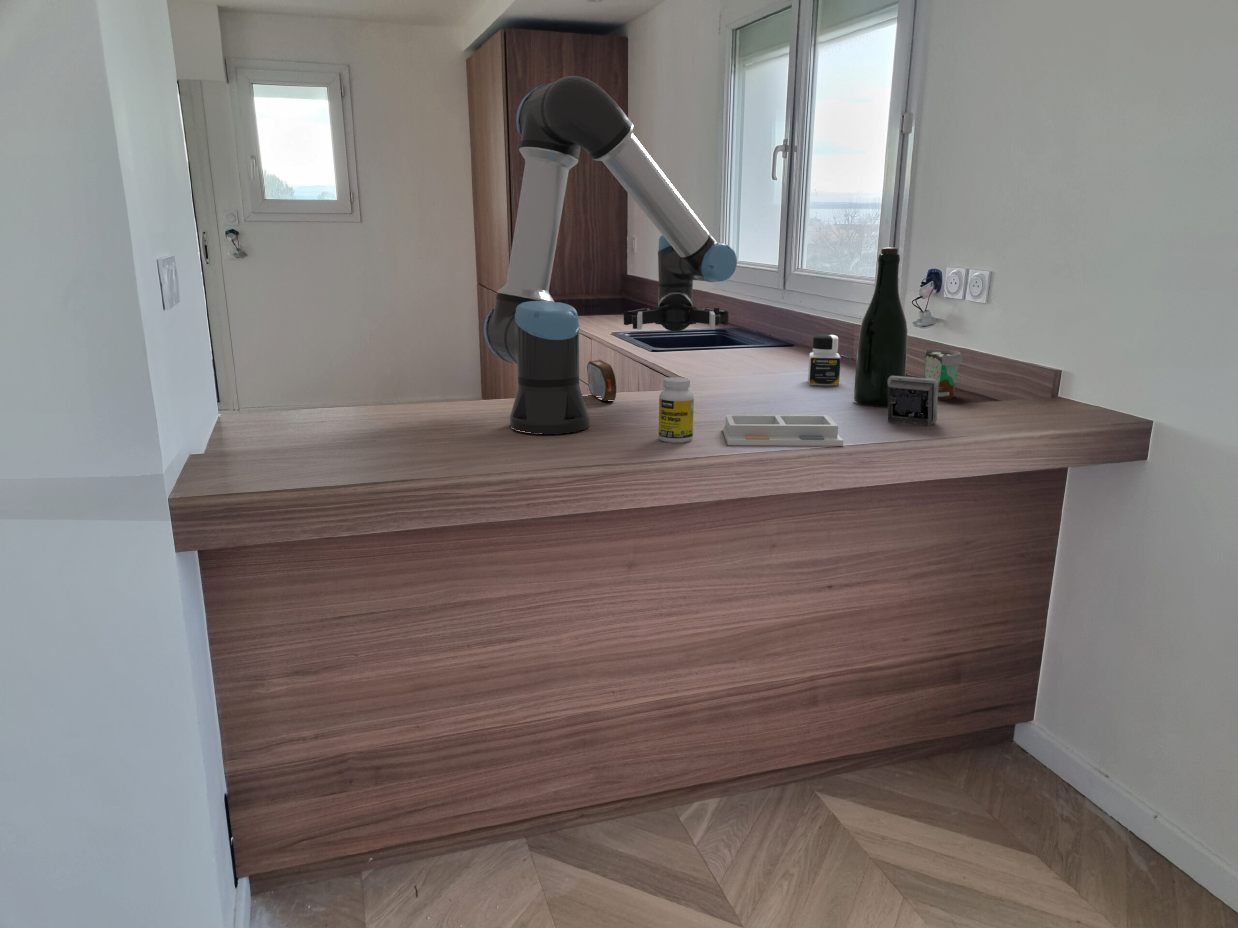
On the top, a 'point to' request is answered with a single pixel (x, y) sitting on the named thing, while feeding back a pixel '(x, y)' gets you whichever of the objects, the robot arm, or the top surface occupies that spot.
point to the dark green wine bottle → (881, 336)
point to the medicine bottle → (824, 361)
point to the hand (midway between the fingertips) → (676, 322)
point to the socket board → (781, 430)
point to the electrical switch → (912, 400)
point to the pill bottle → (676, 411)
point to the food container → (942, 370)
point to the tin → (601, 380)
